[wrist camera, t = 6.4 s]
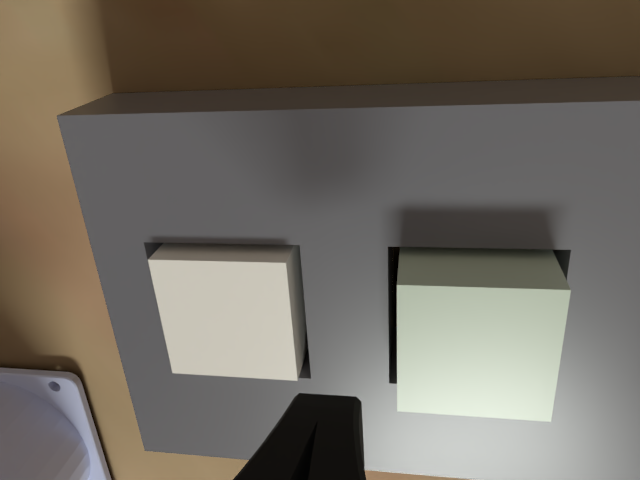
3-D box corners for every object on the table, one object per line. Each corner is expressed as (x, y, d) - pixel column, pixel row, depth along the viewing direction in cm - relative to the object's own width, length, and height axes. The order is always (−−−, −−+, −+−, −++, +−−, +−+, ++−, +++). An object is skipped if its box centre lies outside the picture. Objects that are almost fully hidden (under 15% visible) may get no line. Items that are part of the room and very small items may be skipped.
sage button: (400, 346, 18) (396, 411, 15) (400, 233, 16) (397, 285, 14) (530, 351, 17) (551, 421, 15) (545, 234, 16) (571, 290, 13)
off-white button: (205, 319, 20) (172, 373, 17) (187, 217, 18) (147, 259, 16) (314, 324, 19) (297, 380, 17) (306, 218, 18) (286, 262, 15)
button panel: (177, 394, 23) (145, 450, 20) (112, 93, 17) (56, 115, 15) (792, 435, 19) (853, 512, 16) (940, 66, 14) (1065, 89, 11)
